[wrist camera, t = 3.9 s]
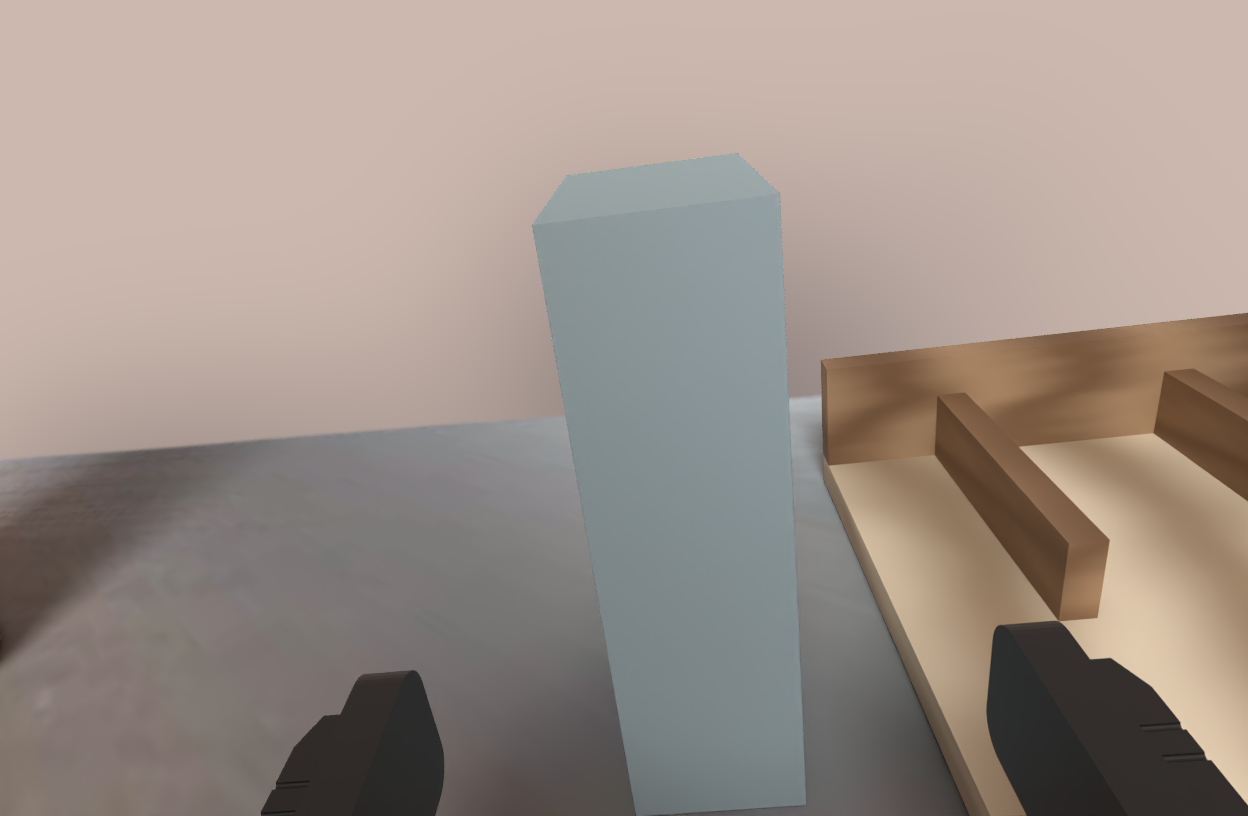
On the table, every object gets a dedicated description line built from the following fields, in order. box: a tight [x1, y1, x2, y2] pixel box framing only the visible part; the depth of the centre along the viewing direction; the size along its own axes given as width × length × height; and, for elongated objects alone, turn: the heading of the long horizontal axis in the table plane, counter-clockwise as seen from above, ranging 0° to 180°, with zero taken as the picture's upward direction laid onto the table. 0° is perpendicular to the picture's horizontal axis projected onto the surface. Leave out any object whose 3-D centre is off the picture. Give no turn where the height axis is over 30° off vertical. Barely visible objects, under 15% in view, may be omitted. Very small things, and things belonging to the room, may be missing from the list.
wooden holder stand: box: [821, 313, 1248, 816], centre depth 20 cm, size 18×16×15 cm
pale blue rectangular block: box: [532, 153, 806, 816], centre depth 18 cm, size 4×6×14 cm, turn 178°
